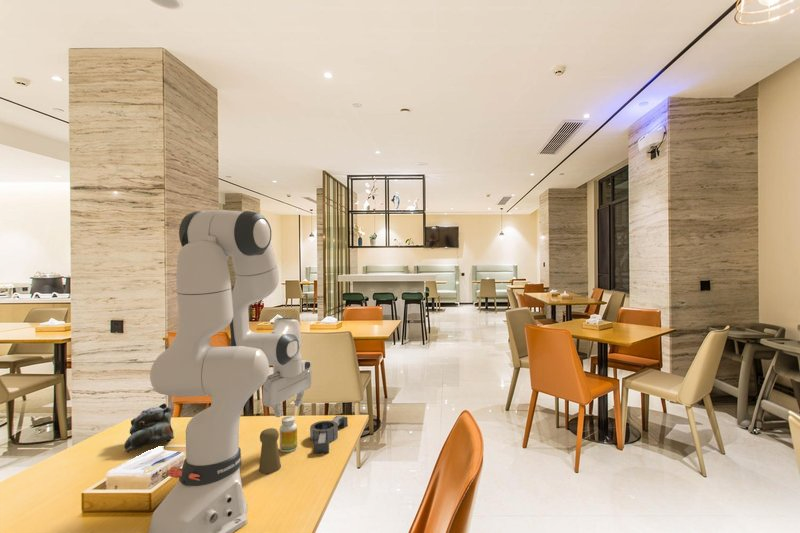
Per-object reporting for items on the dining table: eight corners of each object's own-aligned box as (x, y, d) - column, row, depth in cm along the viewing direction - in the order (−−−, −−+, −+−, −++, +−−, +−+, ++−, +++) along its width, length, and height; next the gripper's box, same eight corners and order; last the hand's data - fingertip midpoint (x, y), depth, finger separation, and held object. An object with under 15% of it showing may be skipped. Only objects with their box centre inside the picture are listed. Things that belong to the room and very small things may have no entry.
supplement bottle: (277, 448, 124) (276, 418, 125) (293, 443, 128) (292, 414, 128) (284, 454, 120) (283, 423, 120) (300, 449, 124) (299, 418, 124)
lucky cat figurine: (113, 455, 122) (115, 410, 128) (142, 454, 133) (142, 412, 139) (158, 441, 122) (158, 396, 128) (183, 441, 133) (182, 399, 139)
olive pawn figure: (274, 474, 108) (273, 434, 108) (254, 472, 109) (253, 433, 110) (284, 464, 114) (284, 426, 114) (266, 462, 115) (265, 425, 116)
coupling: (324, 456, 118) (324, 442, 119) (292, 449, 123) (291, 437, 123) (361, 427, 140) (360, 416, 140) (331, 423, 144) (331, 412, 144)
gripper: (273, 378, 114) (274, 425, 114) (314, 360, 133) (315, 401, 133) (256, 376, 116) (257, 422, 116) (299, 359, 135) (300, 398, 135)
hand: (288, 410), depth 125 cm, fingers open, 8 cm apart
